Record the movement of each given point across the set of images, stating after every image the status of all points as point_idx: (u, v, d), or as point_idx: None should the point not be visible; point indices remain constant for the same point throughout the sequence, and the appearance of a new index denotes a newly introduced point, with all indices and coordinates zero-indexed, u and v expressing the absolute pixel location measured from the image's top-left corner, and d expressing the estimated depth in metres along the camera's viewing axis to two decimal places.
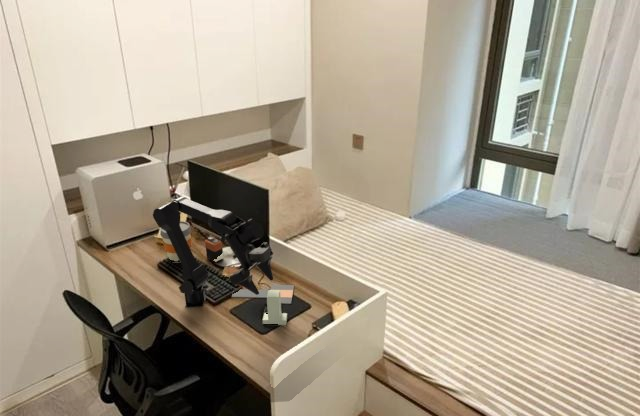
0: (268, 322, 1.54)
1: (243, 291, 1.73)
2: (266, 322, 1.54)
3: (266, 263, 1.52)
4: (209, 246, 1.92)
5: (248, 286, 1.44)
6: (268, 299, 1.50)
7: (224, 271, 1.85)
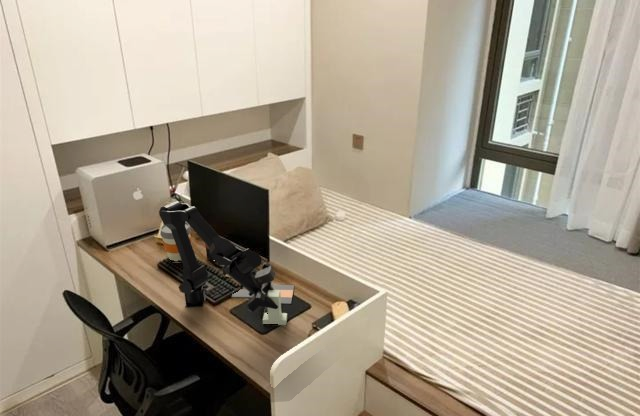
0: (268, 322, 1.54)
1: (243, 291, 1.73)
2: (266, 322, 1.54)
3: (269, 286, 1.54)
4: None
5: (267, 304, 1.50)
6: None
7: None
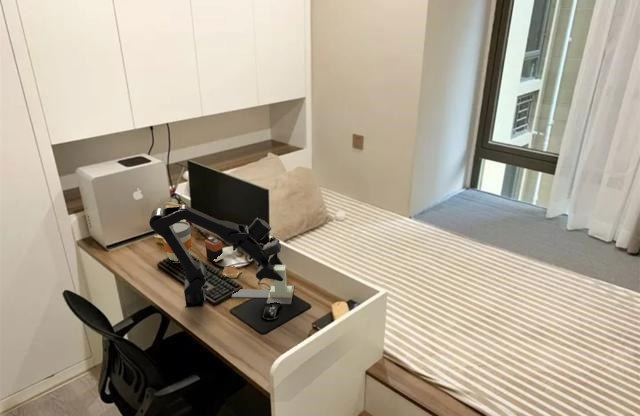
0: (275, 294, 1.69)
1: (243, 291, 1.73)
2: (273, 294, 1.69)
3: (275, 257, 1.69)
4: (209, 246, 1.92)
5: (273, 276, 1.62)
6: None
7: (224, 271, 1.85)
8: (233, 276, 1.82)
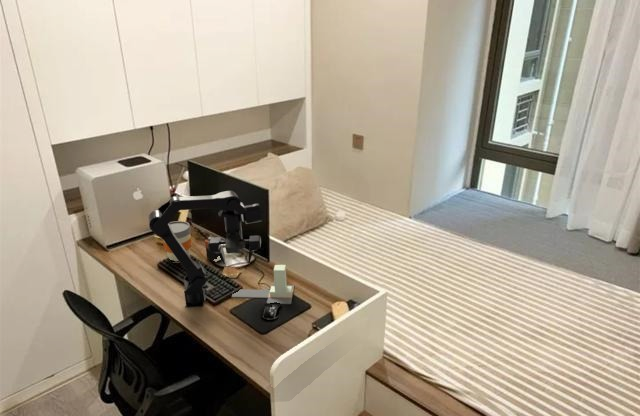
0: (275, 294, 1.69)
1: (243, 291, 1.73)
2: (273, 294, 1.69)
3: None
4: None
5: None
6: (275, 272, 1.65)
7: (224, 271, 1.85)
8: (233, 276, 1.82)
